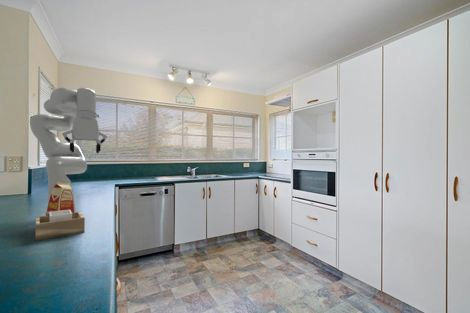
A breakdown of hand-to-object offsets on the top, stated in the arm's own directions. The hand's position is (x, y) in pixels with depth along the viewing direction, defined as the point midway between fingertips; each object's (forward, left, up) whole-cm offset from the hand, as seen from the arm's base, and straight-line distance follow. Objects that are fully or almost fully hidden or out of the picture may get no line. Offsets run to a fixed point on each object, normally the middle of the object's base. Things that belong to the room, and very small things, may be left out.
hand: (85, 152), depth 102 cm
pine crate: (+6, -9, -33) cm, 35 cm away
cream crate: (+6, -9, -32) cm, 34 cm away
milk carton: (-9, -8, -34) cm, 36 cm away
